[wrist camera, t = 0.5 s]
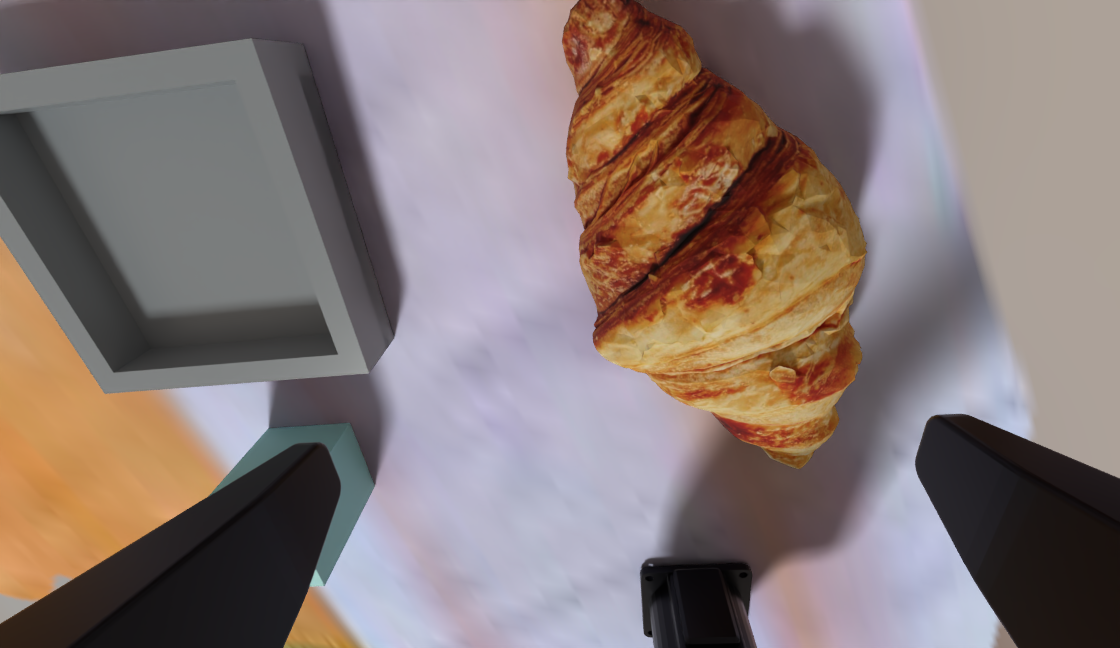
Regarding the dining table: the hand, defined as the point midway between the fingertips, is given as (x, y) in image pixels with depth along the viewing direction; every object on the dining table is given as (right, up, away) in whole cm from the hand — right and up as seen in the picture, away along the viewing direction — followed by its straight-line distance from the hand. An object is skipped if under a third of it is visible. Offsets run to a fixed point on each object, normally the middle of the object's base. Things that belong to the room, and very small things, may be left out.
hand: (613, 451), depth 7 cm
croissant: (+5, +5, +13) cm, 15 cm away
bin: (-15, +6, +13) cm, 21 cm away
